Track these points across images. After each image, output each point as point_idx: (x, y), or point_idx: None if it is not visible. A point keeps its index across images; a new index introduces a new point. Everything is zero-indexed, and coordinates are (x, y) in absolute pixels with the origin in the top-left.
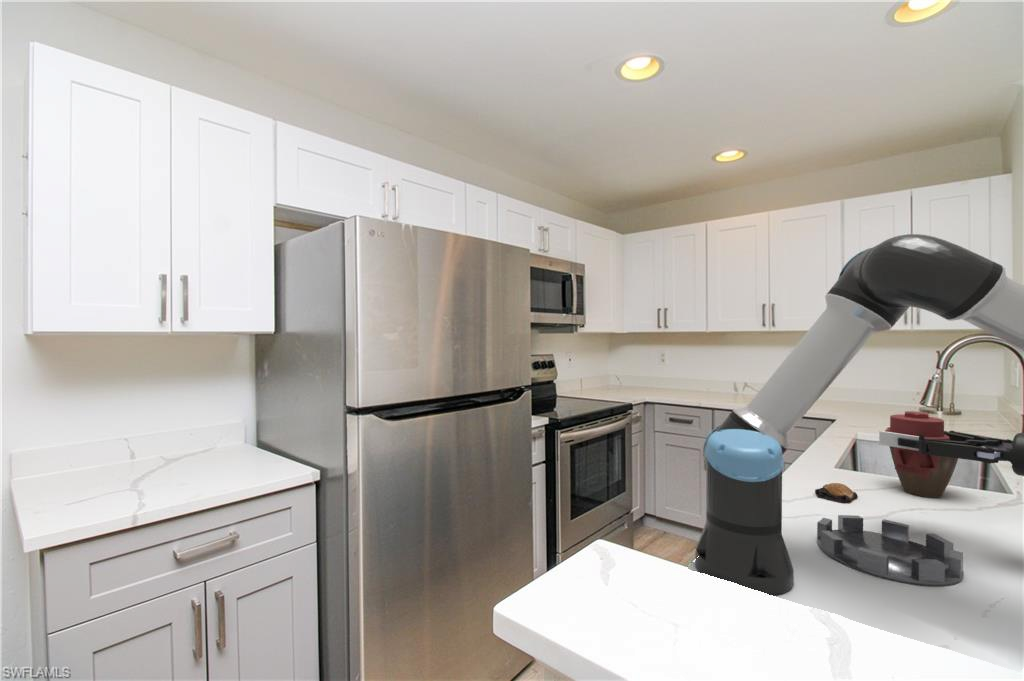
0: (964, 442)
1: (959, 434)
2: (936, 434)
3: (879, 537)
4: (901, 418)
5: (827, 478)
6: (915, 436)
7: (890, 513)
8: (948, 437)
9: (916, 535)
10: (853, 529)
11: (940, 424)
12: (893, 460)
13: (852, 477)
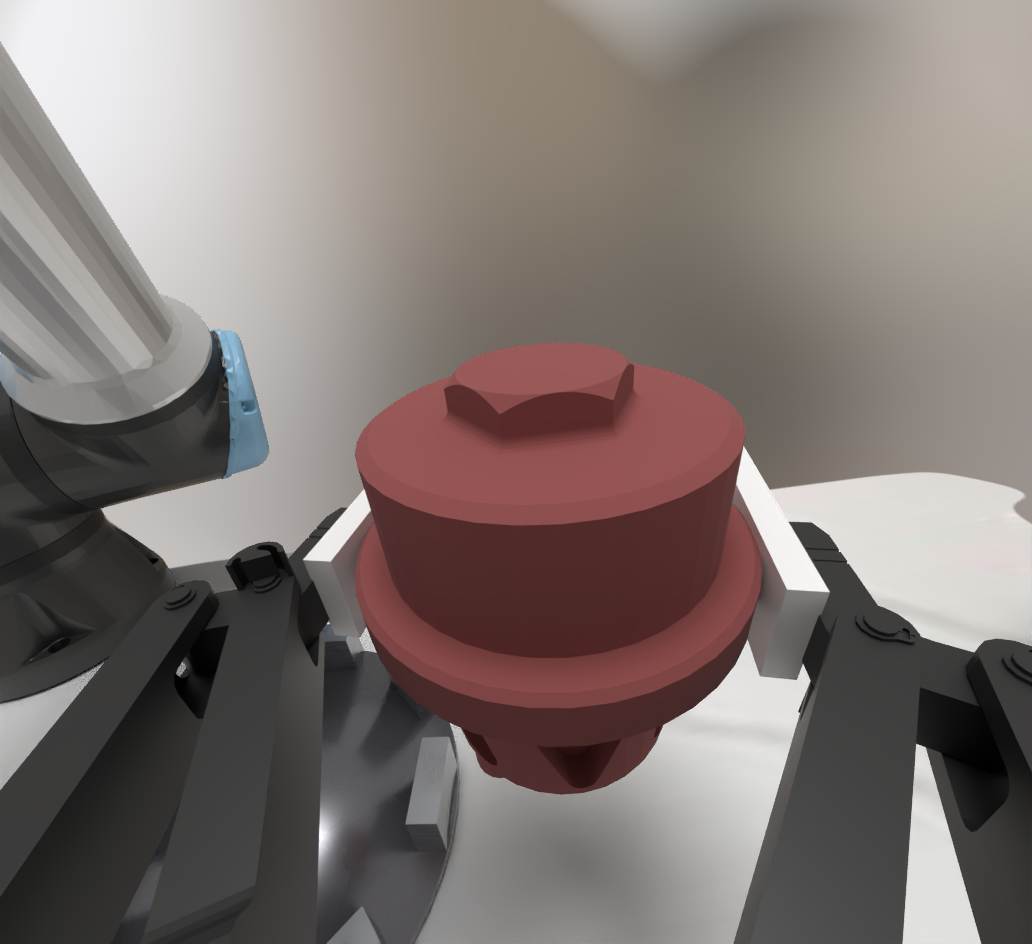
0: (182, 910)
1: (908, 761)
2: (427, 607)
3: (411, 764)
4: (410, 393)
5: (886, 532)
6: (321, 542)
7: (746, 732)
8: (544, 698)
9: (569, 863)
10: (404, 694)
11: (452, 542)
12: None
13: (1009, 561)
